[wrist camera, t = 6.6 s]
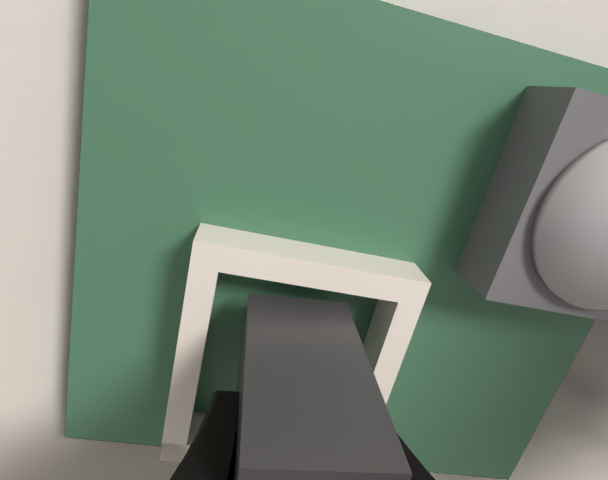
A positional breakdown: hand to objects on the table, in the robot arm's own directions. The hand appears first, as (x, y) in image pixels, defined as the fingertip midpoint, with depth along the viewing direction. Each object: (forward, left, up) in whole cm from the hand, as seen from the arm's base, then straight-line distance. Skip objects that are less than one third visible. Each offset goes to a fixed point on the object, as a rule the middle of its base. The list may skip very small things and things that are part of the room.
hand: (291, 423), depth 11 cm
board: (-2, -3, -4) cm, 6 cm away
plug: (0, -1, -2) cm, 2 cm away
